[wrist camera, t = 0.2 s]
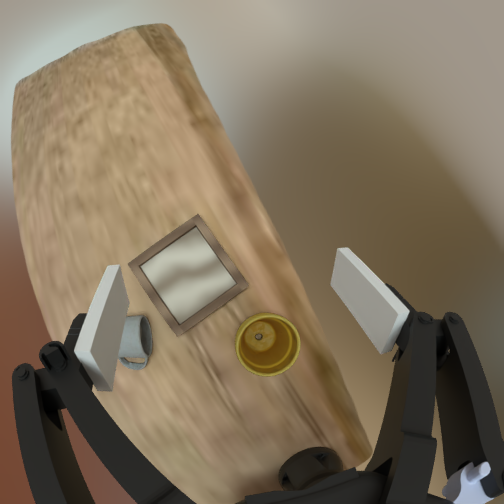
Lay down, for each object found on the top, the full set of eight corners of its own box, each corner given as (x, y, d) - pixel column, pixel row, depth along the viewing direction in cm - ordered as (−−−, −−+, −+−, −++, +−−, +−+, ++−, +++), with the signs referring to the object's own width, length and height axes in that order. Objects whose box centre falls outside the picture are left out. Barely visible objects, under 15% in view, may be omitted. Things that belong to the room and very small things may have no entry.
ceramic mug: (109, 316, 47) (94, 321, 39) (148, 312, 48) (138, 317, 41) (120, 368, 46) (107, 380, 38) (158, 366, 47) (150, 379, 40)
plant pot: (240, 368, 49) (247, 385, 40) (224, 318, 50) (227, 325, 40) (291, 351, 51) (307, 364, 41) (277, 302, 52) (291, 305, 42)
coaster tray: (247, 285, 51) (249, 285, 49) (178, 335, 48) (177, 337, 46) (198, 216, 52) (198, 213, 50) (130, 264, 49) (127, 263, 46)
